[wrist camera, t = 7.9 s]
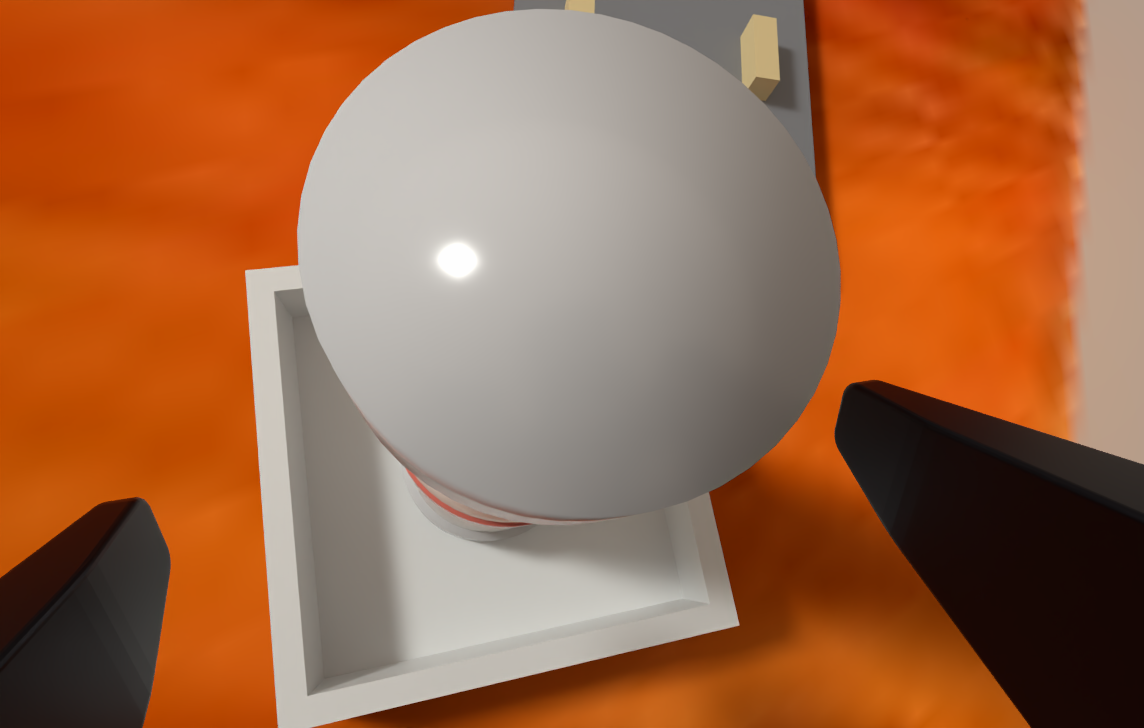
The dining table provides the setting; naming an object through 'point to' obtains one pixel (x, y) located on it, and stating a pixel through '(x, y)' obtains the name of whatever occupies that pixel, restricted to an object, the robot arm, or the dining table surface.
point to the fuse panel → (730, 46)
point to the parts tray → (435, 557)
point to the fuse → (565, 270)
